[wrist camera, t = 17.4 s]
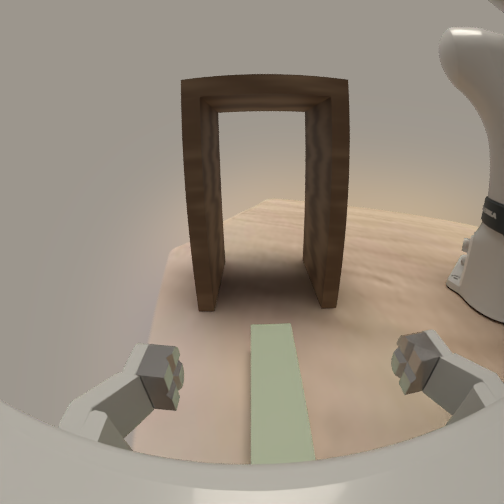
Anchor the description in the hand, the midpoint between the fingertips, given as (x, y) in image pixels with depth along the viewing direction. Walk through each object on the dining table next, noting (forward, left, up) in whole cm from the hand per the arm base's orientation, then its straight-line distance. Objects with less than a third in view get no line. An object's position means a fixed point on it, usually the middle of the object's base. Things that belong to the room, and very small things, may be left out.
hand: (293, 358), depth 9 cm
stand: (-20, -17, -11) cm, 28 cm away
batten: (-2, -2, -11) cm, 12 cm away
